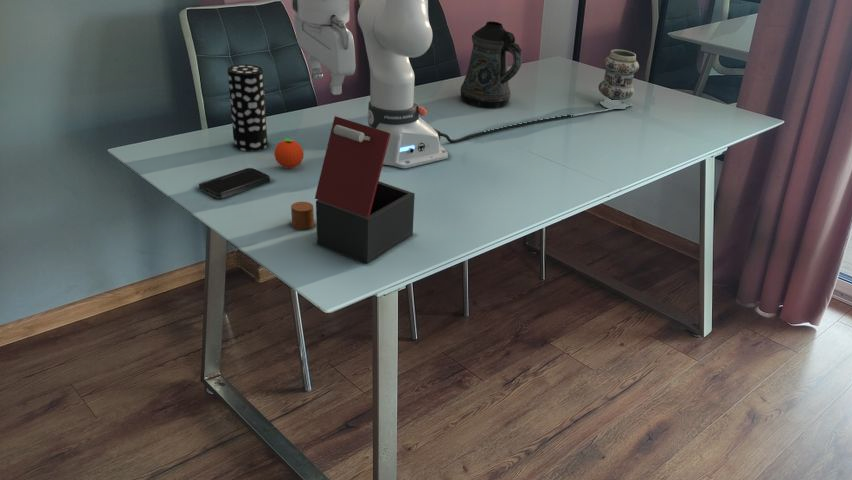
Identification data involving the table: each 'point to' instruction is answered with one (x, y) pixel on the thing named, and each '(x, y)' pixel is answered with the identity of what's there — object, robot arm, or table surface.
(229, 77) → the white-spotted black cylinder
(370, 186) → the lid
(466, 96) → the beer stein
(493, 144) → the table surface
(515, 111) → the table surface
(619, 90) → the apothecary jar
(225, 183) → the phone
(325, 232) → the dark grey box
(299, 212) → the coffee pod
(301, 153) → the clementine
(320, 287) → the table surface
